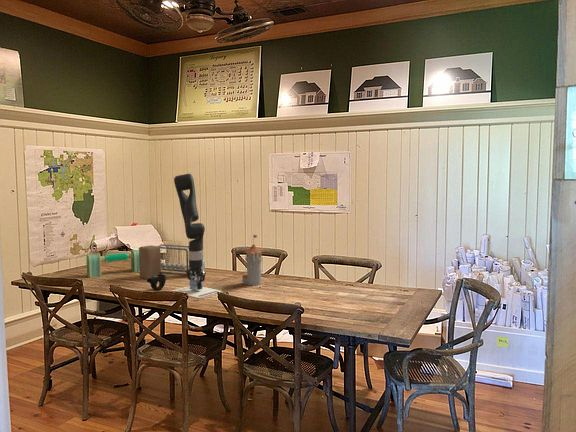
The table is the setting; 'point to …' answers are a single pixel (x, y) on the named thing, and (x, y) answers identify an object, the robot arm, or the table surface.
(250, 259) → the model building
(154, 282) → the controller
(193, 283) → the cube
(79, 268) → the table surface
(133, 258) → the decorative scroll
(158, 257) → the block
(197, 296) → the letter
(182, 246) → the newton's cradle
